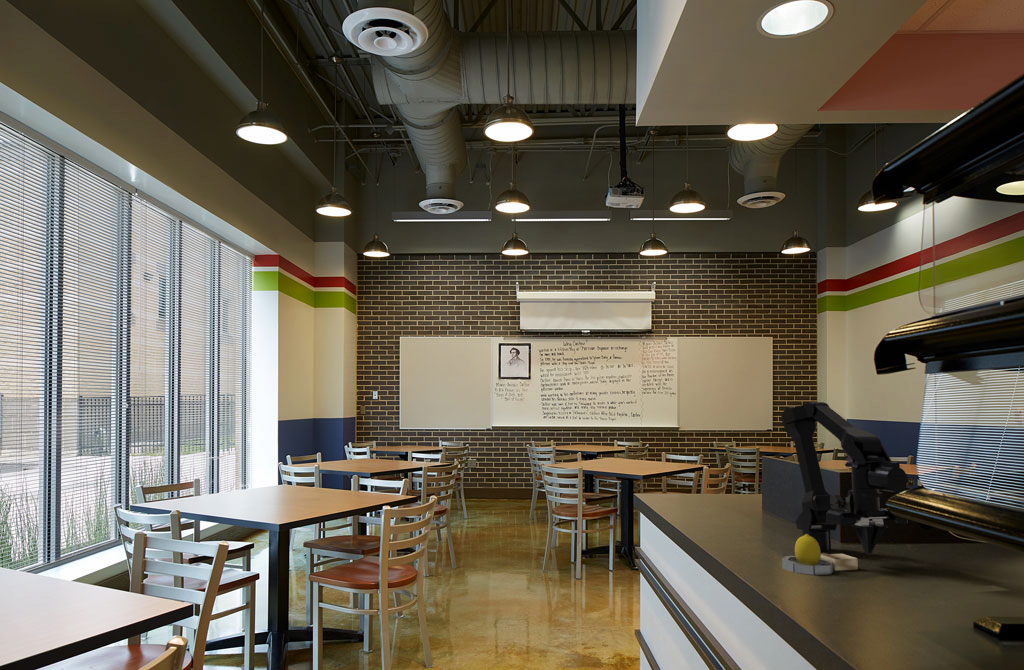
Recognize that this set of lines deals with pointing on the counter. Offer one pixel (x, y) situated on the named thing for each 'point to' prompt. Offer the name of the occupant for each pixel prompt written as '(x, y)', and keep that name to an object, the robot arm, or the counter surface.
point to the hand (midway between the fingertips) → (868, 553)
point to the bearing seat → (807, 566)
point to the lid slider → (841, 561)
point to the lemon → (807, 550)
